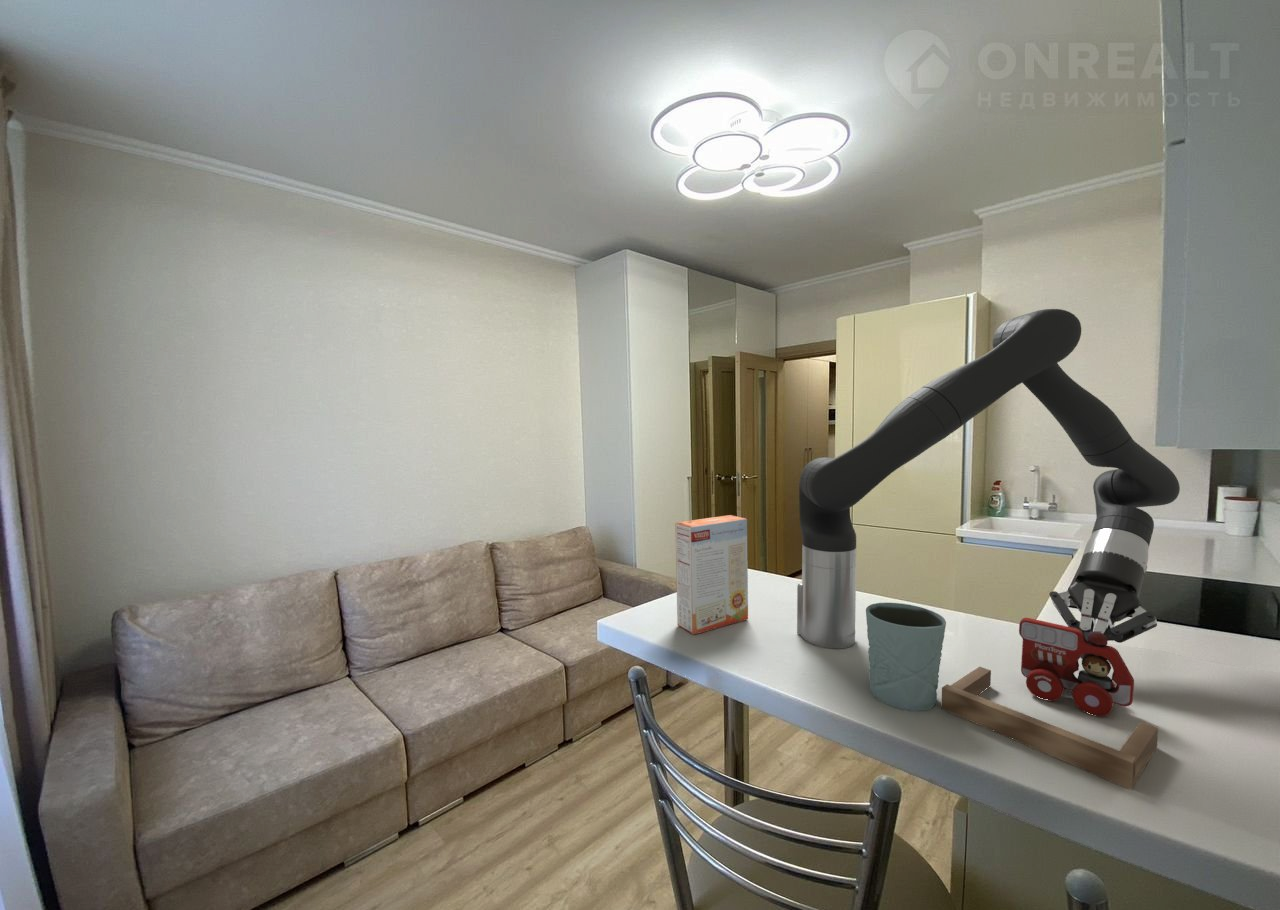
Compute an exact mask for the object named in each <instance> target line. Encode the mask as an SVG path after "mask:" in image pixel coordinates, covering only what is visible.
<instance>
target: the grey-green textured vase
mask: <svg viewBox="0 0 1280 910" xmlns="http://www.w3.org/2000/svg"><path fill="white" fill-rule="evenodd" d="M865 615H866V616H865V617H866V627H867V630H866V631H867V633H866V635H867V640H868V646H869V647H868V652H867V653H868V663H869V664H868V666H869V670H868V671H869V689H870V692H871V694H872V695H873V696H874V697H875V698H876V699H877V700H879V701H880V702H881V703H883V704H885V705H887V706H890V707H893V708H897V709H900V710H904V711H910V712H923V711H924V712H925V711H928V710H931V709H933V708H934V707H935V705H936V703H937V697H938V696H937V695H938V692H937V690H938V688H939V687H938V686H939V682H940V681H939V677H940V675H939V673H940V666H941V660H942V659H941V658H942V651H943V643H944V640H945V639H944V638H945V632H946V627H947V626H946V625H947V622H946V619H945V617H944V616H942V615H941V614H939V613H938V612H935V611H933V610H931V609H928V608H925V607H921V606H918V605H913V604H907V603H899V602H876V603H872V604H869V605H868V606H867V607H866V608H865Z"/></svg>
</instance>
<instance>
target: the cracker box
mask: <svg viewBox="0 0 1280 910" xmlns="http://www.w3.org/2000/svg"><path fill="white" fill-rule="evenodd" d="M674 527H675V532H674V533H675V556H676V557H675V560H676V561H675V562H676V563H675V566H676V567H675V570H676V575H675V576H676V615H677V617H676V618H677V621H676V622H677V626H679V627H680V628H682V629H683V630H686V631H687V632H689V633H691V635H698V634H700V633H704V632H708V631H710V630H712V631H713V630H715V629H718V628H723V627H725V626H729V625H732V624H736V623H740V622H743V621H747V620H749V589H748V588H749V585H748V584H749V582H748V581H749V580H748V579H749V578H748V576H749V575H748V571H749V570H748V566H749V565H748V564H749V563H748V519H747V518H746V517H740V516H736V515H733V514H729V515H728V514H727V515H721V516H715V517H714V516H713V517H706V518H699V519H693V520H685V521H683V520H682V521H677V522H675V523H674Z"/></svg>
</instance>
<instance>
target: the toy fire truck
mask: <svg viewBox="0 0 1280 910" xmlns="http://www.w3.org/2000/svg"><path fill="white" fill-rule="evenodd" d="M1018 634H1019V636H1020V637H1021V639H1022V645H1021V663H1020V664H1021V666H1020V671H1021V674H1022V676H1023V677H1025V678H1026V679H1025V684H1026V687H1027V689H1028V691H1029V692H1030V693H1031V694H1032V695H1033V696H1034V695H1035V696H1034V697H1036V696H1038V697H1040V698H1043V699H1048V700H1051V701H1050V702H1055V701H1057V700H1059V699H1060V698H1061V697H1062V695H1063V693H1064V690H1067V691H1070V692H1072V693H1071V694H1072V701H1073V702H1074V704H1075V705H1076V707H1078V709H1080V710H1081V711H1082V712H1084V711H1085V712H1088V713H1090V714H1093V715H1096V716H1095V717H1105V716H1108V715H1109V714H1111V712H1112V710H1113V706H1114V705H1118V706H1122V707H1129V706H1131V705H1132V704H1133V701H1134V687H1135V678H1134V677H1133V675H1132V673H1131V671H1130V670H1129V668H1128V666H1127V664H1126V663H1125V660H1124V659H1123V657H1122V655H1121V654H1120V652H1119V651H1118V649H1116V648H1115V647H1114V646H1112V645H1111V646H1110V645H1108V641H1107V637H1106V636H1105V635H1104V634H1103V633H1101V632H1097V631H1093V632H1091V633H1089V634H1088V640H1086V639H1085V635H1084V633H1083V632H1082V631H1081V630H1079V629H1076V628H1072V627H1068V625H1067V626H1066V625H1064V624H1063V625H1062V624H1057V623H1052V622H1048V621H1043V620H1039V619H1035V618H1031V617H1023V618H1022V619H1020V621H1019V625H1018ZM1085 654H1087V655H1085ZM1083 655H1085V656H1084V657H1083V659H1081V658H1080V657H1081V656H1083ZM1080 659H1081V665H1082V668H1083V669H1082V670H1079V669H1080V664H1079V660H1080ZM1111 669H1113V671H1112V675H1111V677H1110V676H1109V674H1110V673H1111ZM1075 672H1078V676H1077V677H1076V675H1075ZM1085 712H1084V713H1085ZM1090 714H1089V715H1090ZM1093 715H1092V716H1093Z"/></svg>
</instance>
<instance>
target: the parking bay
mask: <svg viewBox="0 0 1280 910" xmlns="http://www.w3.org/2000/svg"><path fill="white" fill-rule="evenodd" d="M991 680H992V670H991V669H989V668H986V667H983V666H978V667H977V668H975V669H973V670H972V671H970V672H969V673H967V674H966V675H964V676H963V677H960V678H959V679H958V680H957V681H955V682H952V684H945V685H944V686H942V687H941V710H943V711H946V712H948V713H951V714H953V715H956V716H958V717H960V718H963V719H964V718H965V719H964V720H967V721H970V722H971V721H972V723H974V724H976V723H977V724H976V725H978V724H979V726H981V727H983V726H984V727H983V728H985V727H986V728H985V729H988V730H990V729H991V731H992V730H994V731H993V732H995V733H997V732H998V733H997V734H999V733H1000V735H1002V734H1003V735H1002V736H1004V737H1007V738H1009V737H1010V738H1009V739H1011V738H1013V739H1012V740H1014V741H1016V740H1017V741H1016V742H1018V741H1019V742H1018V743H1021V744H1023V745H1025V746H1028V747H1030V748H1033V749H1034V750H1037V751H1038V752H1039V751H1040V752H1041V753H1044V754H1046V755H1049V756H1051V757H1053V758H1056V759H1058V760H1061V761H1062V762H1065V763H1068V764H1070V765H1072V766H1075V767H1076V768H1079V769H1082V770H1083V771H1086V772H1088V773H1091V774H1093V775H1095V776H1098V777H1100V778H1102V779H1105V780H1107V781H1110V782H1111V783H1114V784H1117V785H1119V786H1121V787H1123V788H1126V789H1128V790H1132V789H1133V787H1134V786H1135V784H1136V782H1137V780H1138V779H1139V778H1140V776H1141V774H1142V773H1143V771H1144V769H1145V768H1146V767H1147V765H1148V763H1149V762H1150V760H1151V758H1152V757H1151V756H1153V755H1152V754H1154V753H1155V752H1156V750H1157V748H1158V735H1159V727H1157V726H1155V725H1151V724H1148V723H1146V722H1143V721H1140V722H1139V723H1138V724H1137V726H1136V727H1135V729H1134V730H1133V732H1132V733H1131V734H1130V736H1129V737H1128V738H1127V740H1126V741H1125V742H1124V744H1123V745H1122V747H1121V748H1120V750H1118V749H1116V748H1113V747H1110V746H1108V745H1105V744H1102V743H1100V742H1098V741H1094V740H1092V739H1089V738H1087V737H1084V736H1081V735H1079V734H1076V733H1075V732H1071V731H1069V730H1066V729H1065V728H1061V727H1059V726H1055V725H1053V724H1052V723H1051V724H1050V723H1049V722H1045V721H1043V720H1040V719H1038V718H1035V717H1034V716H1030V715H1028V714H1025V713H1023V712H1020V711H1018V710H1015V709H1012V708H1011V707H1010V708H1009V707H1007V706H1005V705H1002V704H999V703H996V702H994V701H991V700H990V699H987V698H984V697H981V696H980V695H981V694H982V693H983V692H982V691H984V690H985V689H986V688H988V687H989V686H990V685H992V684H991V683H992V682H991ZM990 687H991V686H990ZM990 687H989V688H990ZM989 688H988V689H989ZM985 691H986V690H985ZM985 691H984V692H985ZM981 692H982V693H981ZM980 693H981V694H980ZM979 694H980V695H979ZM977 695H978V696H977ZM1155 749H1156V750H1155ZM1154 751H1155V752H1154ZM1153 752H1154V753H1153ZM1150 757H1151V758H1150ZM1149 759H1150V760H1149ZM1146 764H1147V765H1146ZM1144 767H1145V768H1144Z"/></svg>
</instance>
